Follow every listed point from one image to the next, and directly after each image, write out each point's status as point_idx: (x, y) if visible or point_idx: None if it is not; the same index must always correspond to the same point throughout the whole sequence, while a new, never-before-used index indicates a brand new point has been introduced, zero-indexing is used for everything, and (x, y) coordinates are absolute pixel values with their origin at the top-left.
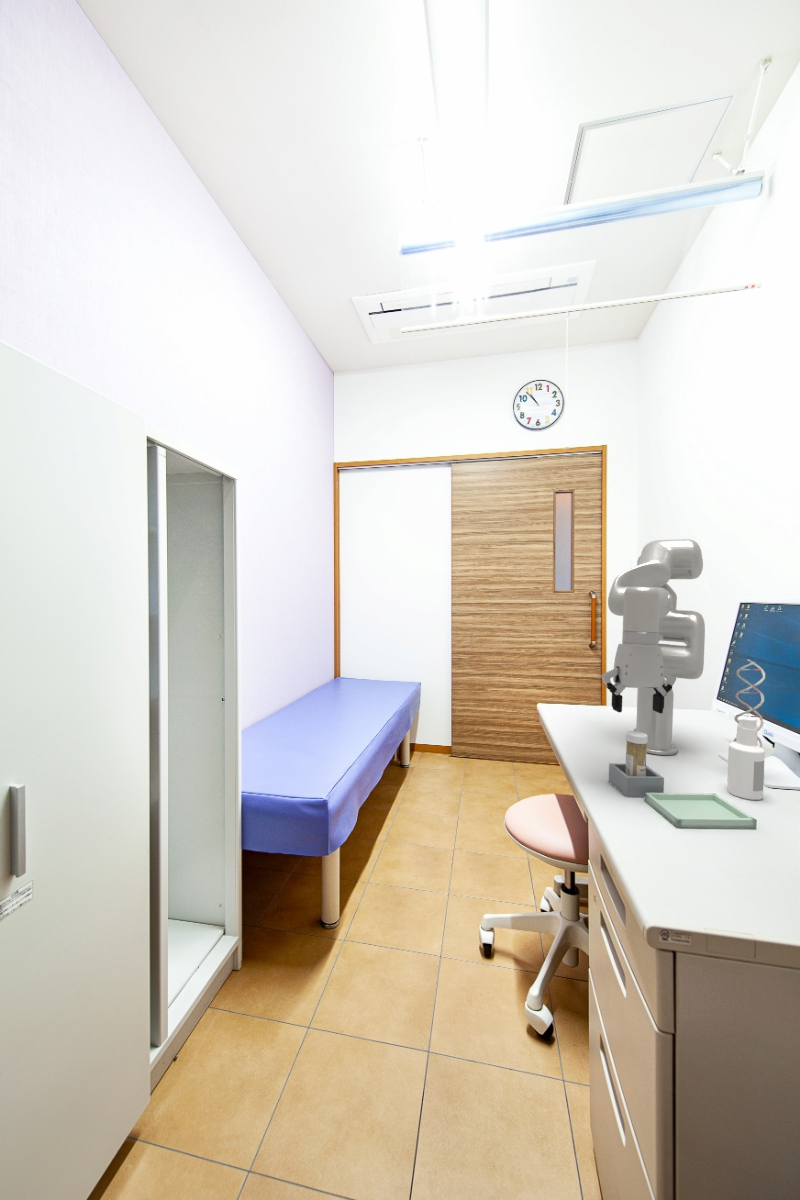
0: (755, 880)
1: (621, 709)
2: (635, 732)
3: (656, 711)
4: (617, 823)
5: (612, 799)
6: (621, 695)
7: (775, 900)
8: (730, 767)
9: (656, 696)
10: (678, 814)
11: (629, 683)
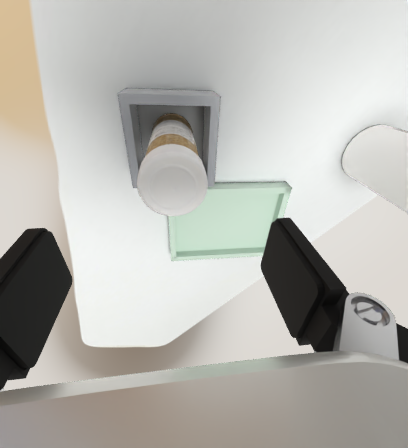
0: (188, 311)
1: (65, 291)
2: (174, 177)
3: (265, 248)
4: (94, 248)
5: (107, 180)
6: (22, 376)
7: (184, 325)
8: (380, 167)
9: (303, 311)
10: (190, 232)
11: None
